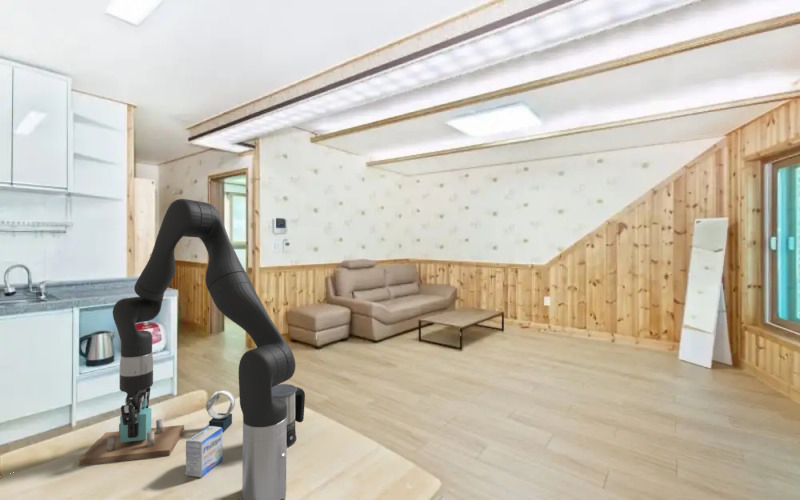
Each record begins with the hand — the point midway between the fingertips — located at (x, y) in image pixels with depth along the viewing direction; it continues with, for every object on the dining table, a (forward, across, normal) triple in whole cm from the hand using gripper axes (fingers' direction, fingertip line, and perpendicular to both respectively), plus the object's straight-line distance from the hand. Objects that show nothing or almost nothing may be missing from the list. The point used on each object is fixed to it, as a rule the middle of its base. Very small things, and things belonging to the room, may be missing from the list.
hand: (136, 432), depth 105 cm
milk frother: (+4, -3, -36) cm, 36 cm away
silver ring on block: (+4, +6, -20) cm, 21 cm away
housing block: (+1, 0, 0) cm, 1 cm away
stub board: (+4, 0, 0) cm, 4 cm away
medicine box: (+4, -15, -20) cm, 25 cm away
